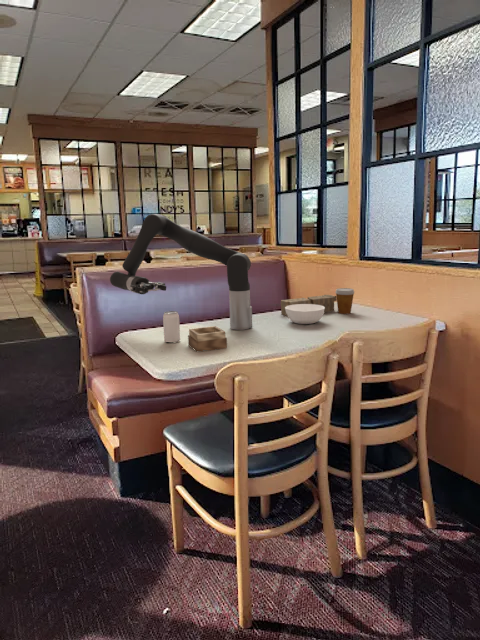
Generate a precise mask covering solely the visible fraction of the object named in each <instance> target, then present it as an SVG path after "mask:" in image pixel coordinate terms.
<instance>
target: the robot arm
mask: <svg viewBox="0 0 480 640" xmlns="http://www.w3.org/2000/svg"><path fill="white" fill-rule="evenodd" d="M156 236H161V237H165V238H168V239H170V240H172V241H174V242H176V243H177V244H178V245H179V246H180V247H182V248H183V249H184V250H186V251H187V252H189V253H191V254H194V255H196V256H198V257H200V258H202V259H203V258H204V259H206V260H207V259H208V260H211V261H215V262H217V263H220V264H223V265H224V266H226V274H227V275H226V277H227V285H228V290H229V291H228V296H229V325H230V329H231V330H235V331H236V330H237V331H240V330H241V331H243V330H248V329H252V328H253V306H251V290H250V289H251V287H250V286H251V285H250V282H249V270H250V268H251V267H252V263H251V259H250V258H249V256H248V255H247V254H245V253H243V252H240V251H236V250H234V249H231V248H228V247H226V246H224V245H222V244H221V243H218V242H217V241H215V240H213V239H211V238H209V237H207V236H205V235H203V234H202V233H199V232H197V231H194V230H193V229H190V228H187V227H185V226H181V225H180V224H177V223H176V222H174V221H172V220H171V219H169V218H168V217H166V216H164V215H162V214H160V213H151V214H148V215H146V217H145V218H144V219H143V222H142V224H141V227H140V230H139V232H138V235H137V237H136V240H135V241H134V243H133V245H132V248H131V249H130V251H129V252H128V254H127V256H126V257H125V259H124V261H123V263H122V266H121V267H122V268H123V269H122V270H124V271H125V272H127V273H123V272H120V271H115V272H112V274H111V275H110V277H109V282H110V284H111V286H113V287H116V288H119V289H121V290H124V291H130V292H132V293H135V294H138V295H146V294H148V293H149V292H151V291H153V292H155V291H166V290H167V285H166V282H165V283H164V282H160V281H157V282H154V281H153V282H152V281H150V280H149V279H148V278H147V277H143V276H139V275H136V274H137V272H138V270H139V268H140V266H141V264H142V263H143V261H144V258H145V256H146V254H147V253H146V252H147V250H148V248H149V245H150V243H151V242H152V240H154V238H155V237H156Z"/></svg>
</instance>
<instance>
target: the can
mask: <svg viewBox="0 0 480 640" xmlns="http://www.w3.org/2000/svg"><path fill="white" fill-rule="evenodd" d="M162 321H163V322H162V323H163V325H162V326H163V339H164V342H165V343H166V342H176V343H179V342H180V341H181V330H180V329H181V328H180V315H179V313H178V311H176V310H175V311H174V310H171V311H170V310H169V311H164V312H163V316H162ZM178 341H179V342H178Z"/></svg>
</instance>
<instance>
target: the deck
mask: <svg viewBox="0 0 480 640" xmlns="http://www.w3.org/2000/svg"><path fill="white" fill-rule="evenodd" d="M187 337H188V338H187V339H188V340H187V342H188V346H189V345H190V346H191V347H192V348H191V347H190V346H189V347H190V348H191V349H193V348H194V349H195V350H196V351H195V350H194V349H193V350H194V351H195V352H197V351H201V352H204V351H203V350H208V351H215V349H216V350H220V349H221V350H223V349H227V348H228V340H227V339H228V338H227V337H226V338H222V339H214V340H206V341H197V340H195V339H194V338H192V337H191V336H190V335H187Z"/></svg>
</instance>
